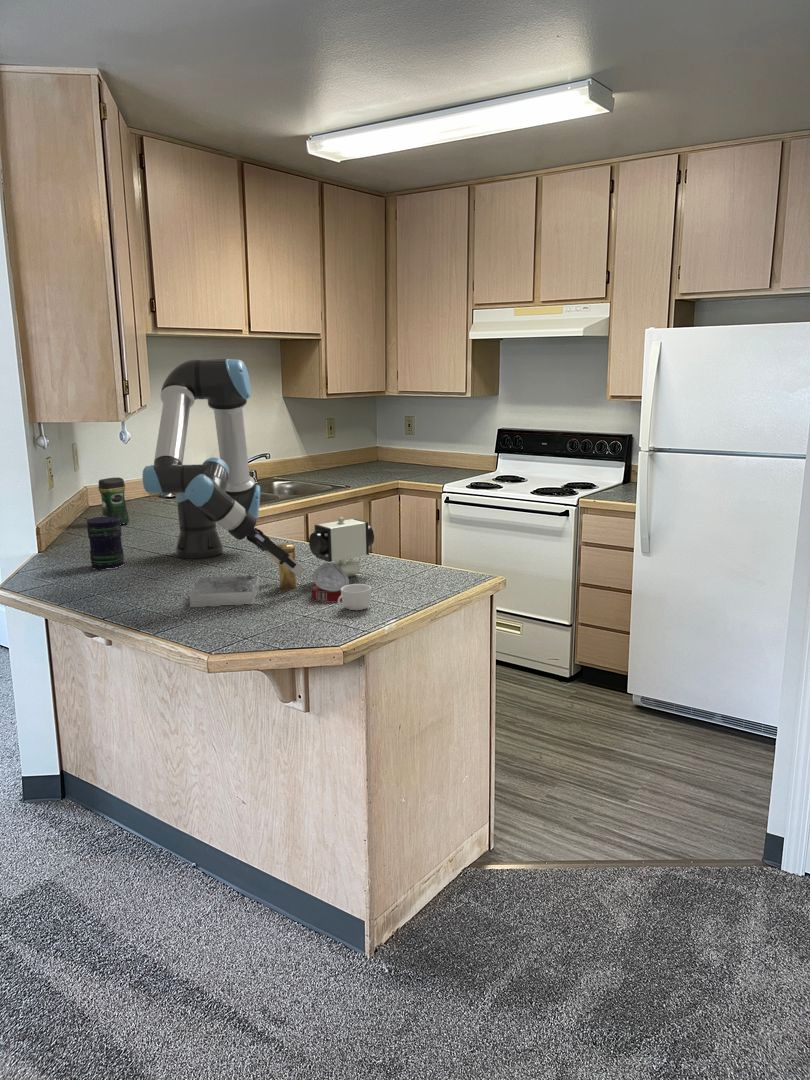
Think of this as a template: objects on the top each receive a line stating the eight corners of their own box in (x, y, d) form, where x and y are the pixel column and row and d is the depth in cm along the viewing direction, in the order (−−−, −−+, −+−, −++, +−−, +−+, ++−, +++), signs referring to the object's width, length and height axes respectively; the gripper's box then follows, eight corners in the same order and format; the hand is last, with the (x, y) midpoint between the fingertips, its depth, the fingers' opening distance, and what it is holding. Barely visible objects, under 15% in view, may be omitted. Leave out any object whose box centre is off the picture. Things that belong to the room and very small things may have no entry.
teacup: (357, 602, 209) (357, 582, 207) (378, 607, 203) (377, 587, 202) (328, 610, 202) (327, 590, 200) (349, 617, 196) (348, 596, 195)
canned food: (345, 609, 218) (362, 577, 216) (334, 616, 209) (351, 584, 207) (310, 588, 220) (326, 557, 218) (297, 594, 210) (314, 562, 208)
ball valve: (359, 569, 241) (357, 511, 237) (375, 574, 234) (374, 515, 230) (307, 579, 231) (305, 519, 227) (323, 586, 224) (320, 523, 220)
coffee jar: (123, 521, 320) (118, 475, 316) (131, 524, 314) (127, 477, 310) (99, 525, 314) (94, 478, 310) (107, 528, 308) (102, 480, 304)
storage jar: (84, 568, 248) (79, 521, 245) (109, 561, 256) (104, 515, 253) (107, 571, 243) (102, 523, 240) (131, 564, 252) (127, 517, 249)
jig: (201, 589, 222) (200, 575, 221) (259, 587, 223) (258, 573, 222) (190, 607, 206) (189, 592, 206) (252, 604, 208) (252, 589, 207)
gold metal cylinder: (280, 584, 226) (278, 543, 223) (297, 584, 226) (295, 542, 223) (279, 589, 221) (276, 547, 219) (296, 588, 222) (293, 546, 219)
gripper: (214, 523, 223) (268, 568, 233) (242, 540, 201) (300, 588, 212) (231, 503, 224) (285, 548, 234) (261, 517, 203) (318, 566, 213)
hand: (292, 567), depth 223 cm, fingers open, 13 cm apart
